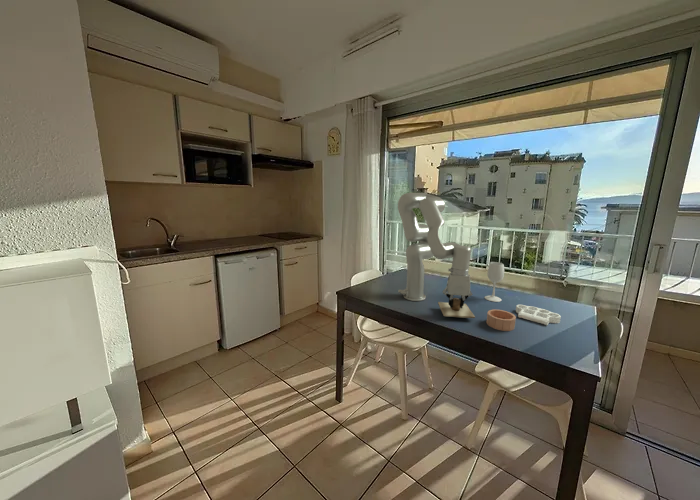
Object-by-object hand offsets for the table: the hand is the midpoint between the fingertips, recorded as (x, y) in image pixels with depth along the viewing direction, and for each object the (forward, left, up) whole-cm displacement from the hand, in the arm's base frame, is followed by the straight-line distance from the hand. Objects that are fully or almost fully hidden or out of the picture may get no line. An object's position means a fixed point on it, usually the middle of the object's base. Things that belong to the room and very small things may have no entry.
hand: (455, 306), depth 131 cm
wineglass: (+27, +23, -5) cm, 36 cm away
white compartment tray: (+38, +1, -5) cm, 38 cm away
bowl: (+18, -9, -4) cm, 20 cm away
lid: (0, 0, -2) cm, 2 cm away
